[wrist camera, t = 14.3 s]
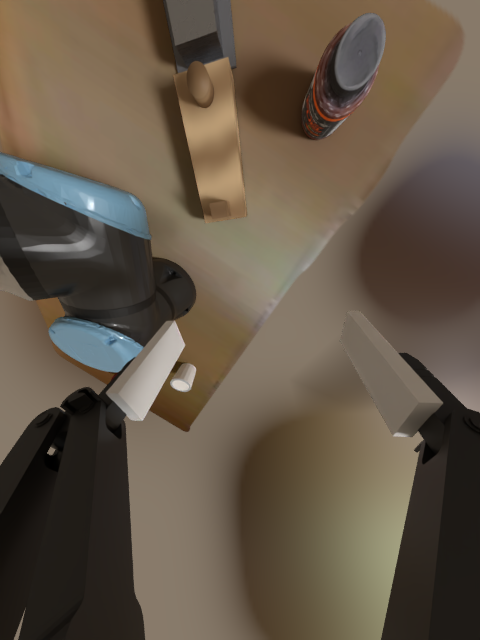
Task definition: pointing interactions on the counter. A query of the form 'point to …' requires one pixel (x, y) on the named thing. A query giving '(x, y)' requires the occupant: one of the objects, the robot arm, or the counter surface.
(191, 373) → the white cup
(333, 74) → the supplement bottle
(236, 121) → the body
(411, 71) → the counter surface
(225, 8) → the mat
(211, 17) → the lever cap
